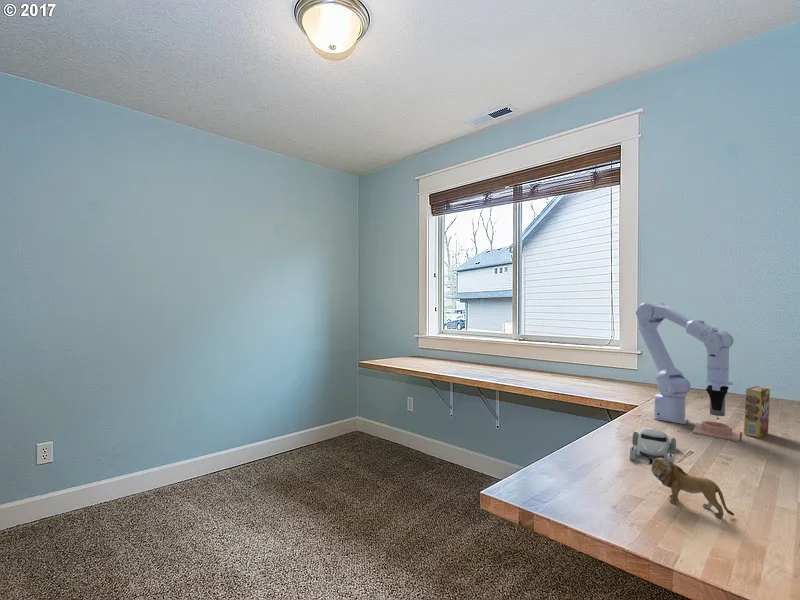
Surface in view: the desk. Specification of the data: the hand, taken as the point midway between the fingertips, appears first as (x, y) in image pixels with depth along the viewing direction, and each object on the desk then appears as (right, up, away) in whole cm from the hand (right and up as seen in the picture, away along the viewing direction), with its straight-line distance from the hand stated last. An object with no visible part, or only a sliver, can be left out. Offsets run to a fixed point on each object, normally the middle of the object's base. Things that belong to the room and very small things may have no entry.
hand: (717, 408), depth 138 cm
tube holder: (0, -8, 0) cm, 8 cm away
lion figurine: (-44, -8, -49) cm, 66 cm away
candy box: (+12, -8, -1) cm, 15 cm away
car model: (-32, -9, -17) cm, 37 cm away
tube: (0, -2, 0) cm, 2 cm away
